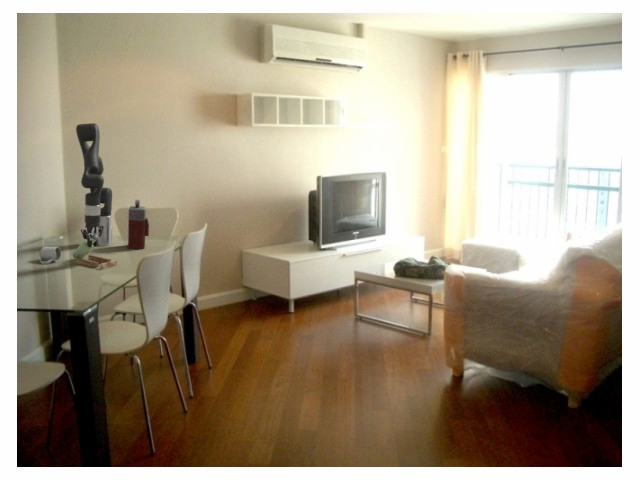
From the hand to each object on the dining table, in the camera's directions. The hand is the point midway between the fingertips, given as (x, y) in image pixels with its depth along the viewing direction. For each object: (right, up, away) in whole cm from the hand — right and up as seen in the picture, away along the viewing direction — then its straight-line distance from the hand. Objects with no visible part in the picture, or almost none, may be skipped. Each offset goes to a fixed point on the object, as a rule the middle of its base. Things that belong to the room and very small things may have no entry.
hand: (92, 246), depth 309 cm
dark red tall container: (+11, -1, +42) cm, 43 cm away
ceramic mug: (-21, -8, -1) cm, 23 cm away
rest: (+2, -9, +1) cm, 9 cm away
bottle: (-10, -5, +6) cm, 12 cm away
